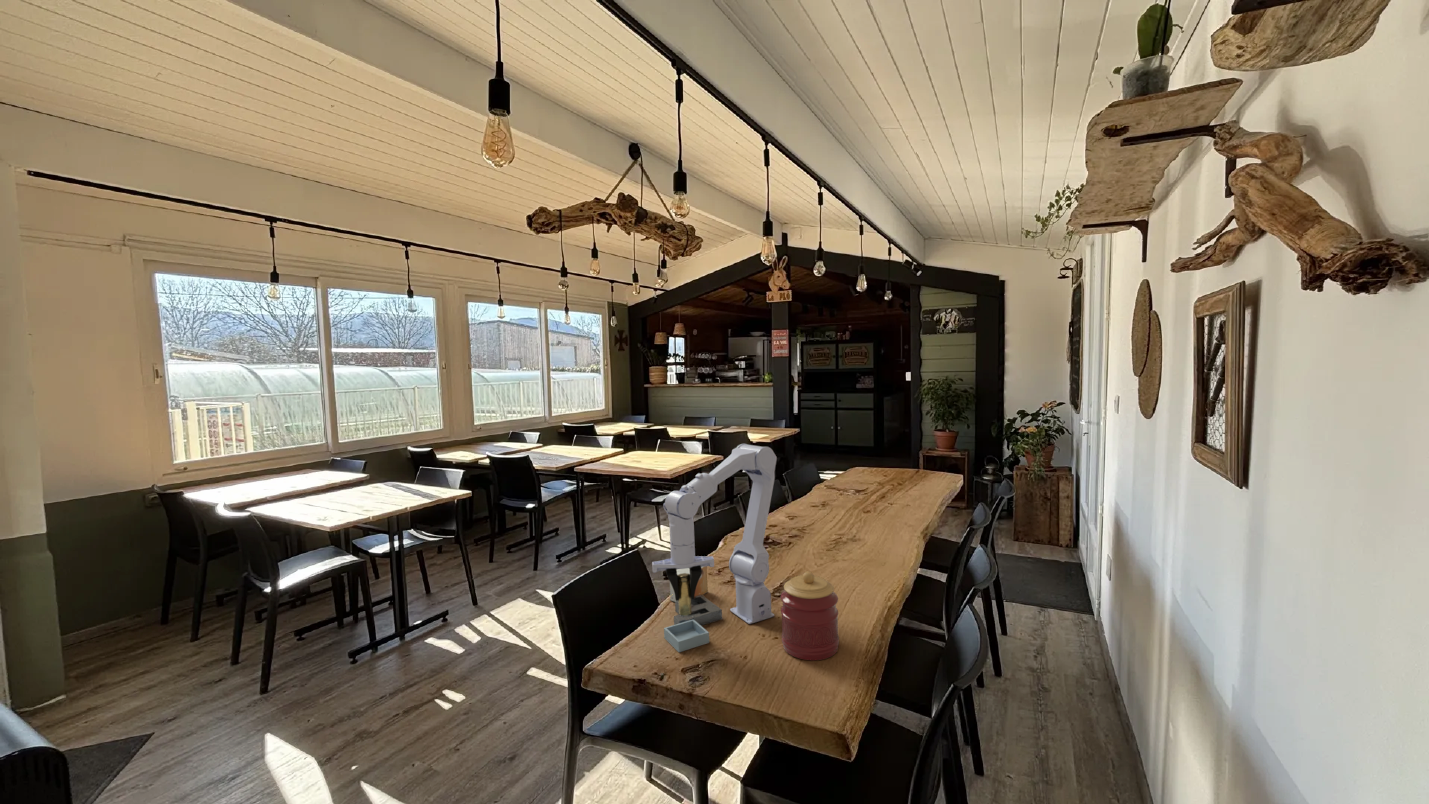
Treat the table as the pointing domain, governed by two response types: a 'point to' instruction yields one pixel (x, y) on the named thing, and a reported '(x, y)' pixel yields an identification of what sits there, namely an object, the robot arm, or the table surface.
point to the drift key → (683, 618)
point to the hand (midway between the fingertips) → (684, 598)
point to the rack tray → (686, 635)
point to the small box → (701, 585)
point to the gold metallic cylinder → (684, 594)
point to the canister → (809, 617)
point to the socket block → (703, 610)
